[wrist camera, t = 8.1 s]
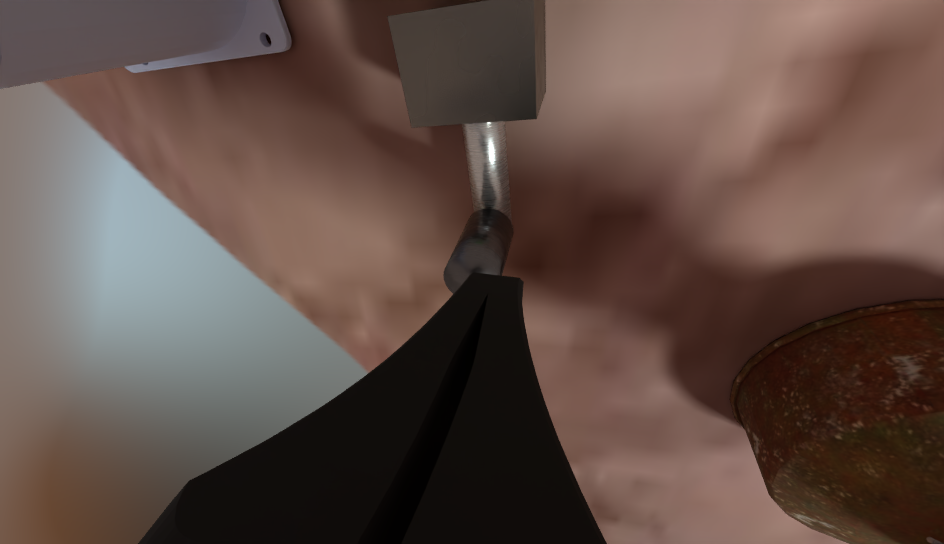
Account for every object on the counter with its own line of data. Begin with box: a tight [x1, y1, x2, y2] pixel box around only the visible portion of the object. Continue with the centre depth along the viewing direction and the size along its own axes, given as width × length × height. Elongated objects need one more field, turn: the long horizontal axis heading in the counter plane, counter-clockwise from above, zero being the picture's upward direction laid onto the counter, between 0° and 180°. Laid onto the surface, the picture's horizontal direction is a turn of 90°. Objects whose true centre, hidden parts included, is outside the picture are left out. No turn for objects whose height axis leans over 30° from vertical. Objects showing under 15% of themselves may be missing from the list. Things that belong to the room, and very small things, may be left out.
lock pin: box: [444, 121, 513, 294], centre depth 13 cm, size 8×2×5 cm, turn 8°
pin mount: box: [387, 0, 546, 128], centre depth 13 cm, size 3×4×4 cm
